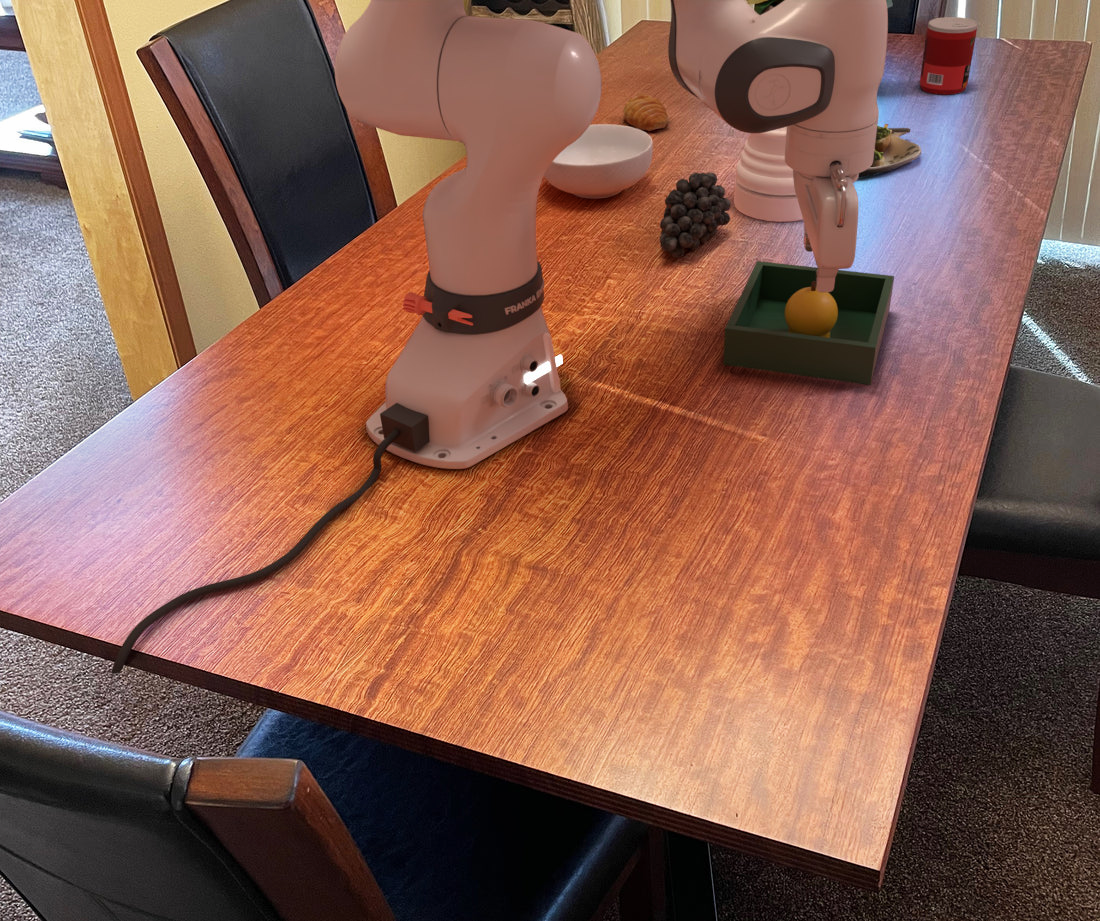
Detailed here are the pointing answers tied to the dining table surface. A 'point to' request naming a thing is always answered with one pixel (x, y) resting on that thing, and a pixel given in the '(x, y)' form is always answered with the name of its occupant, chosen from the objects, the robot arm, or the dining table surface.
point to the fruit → (693, 213)
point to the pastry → (645, 113)
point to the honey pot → (766, 179)
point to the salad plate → (891, 151)
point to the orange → (811, 312)
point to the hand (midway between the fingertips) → (817, 268)
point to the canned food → (947, 55)
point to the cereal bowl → (602, 161)
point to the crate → (843, 357)
